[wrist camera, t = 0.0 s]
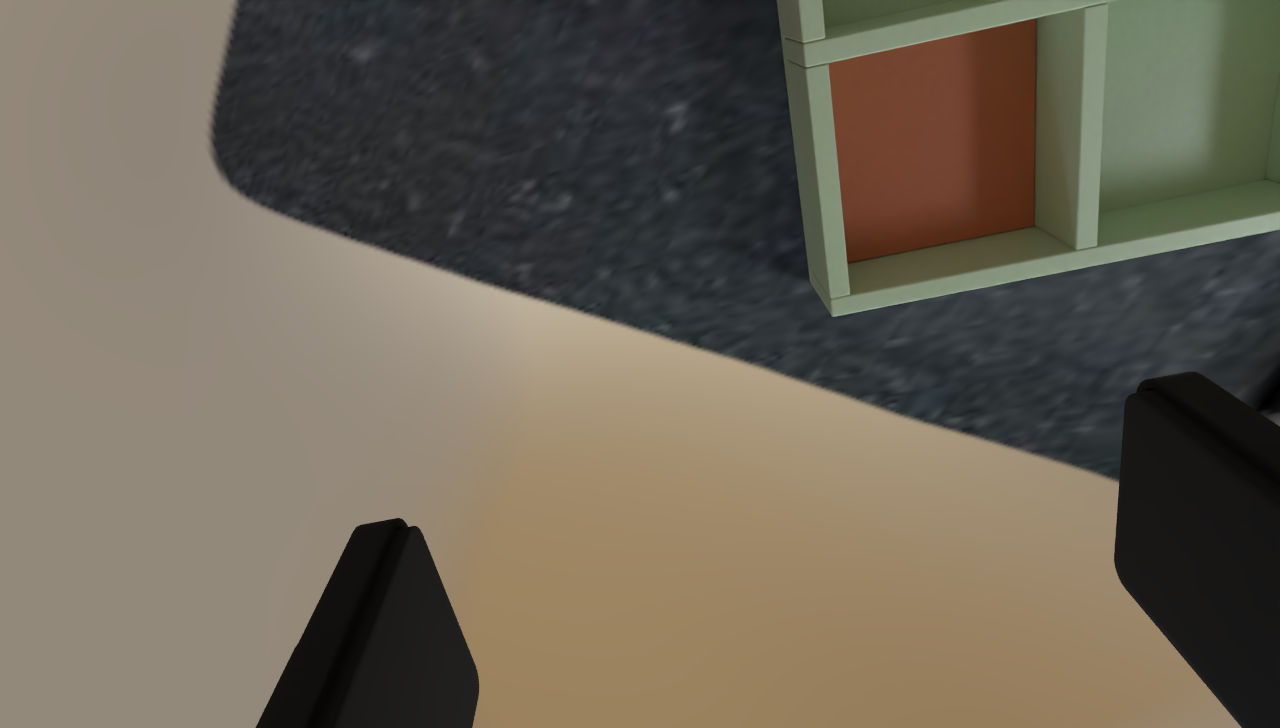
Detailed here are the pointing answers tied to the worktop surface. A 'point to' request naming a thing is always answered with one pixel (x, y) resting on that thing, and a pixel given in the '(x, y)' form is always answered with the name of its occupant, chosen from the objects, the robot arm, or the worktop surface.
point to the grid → (1024, 136)
